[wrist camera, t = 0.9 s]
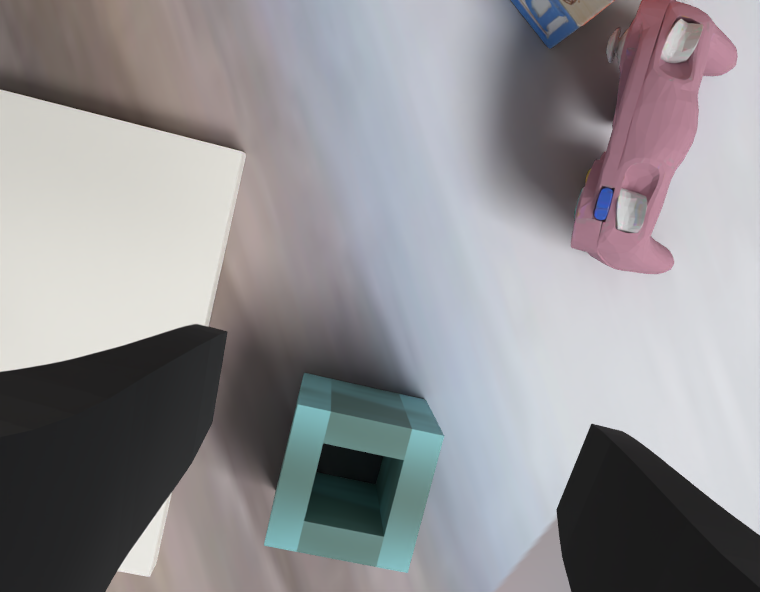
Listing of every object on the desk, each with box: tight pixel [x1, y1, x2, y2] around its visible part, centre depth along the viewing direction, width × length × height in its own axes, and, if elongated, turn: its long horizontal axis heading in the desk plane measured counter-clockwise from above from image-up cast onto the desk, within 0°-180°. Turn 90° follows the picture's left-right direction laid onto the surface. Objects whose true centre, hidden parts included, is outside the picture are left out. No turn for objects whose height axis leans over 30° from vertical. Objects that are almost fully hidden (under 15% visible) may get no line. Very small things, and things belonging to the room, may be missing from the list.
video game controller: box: [571, 0, 737, 274], centre depth 23 cm, size 10×5×7 cm, turn 165°
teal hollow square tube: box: [264, 373, 444, 573], centre depth 24 cm, size 5×5×4 cm
